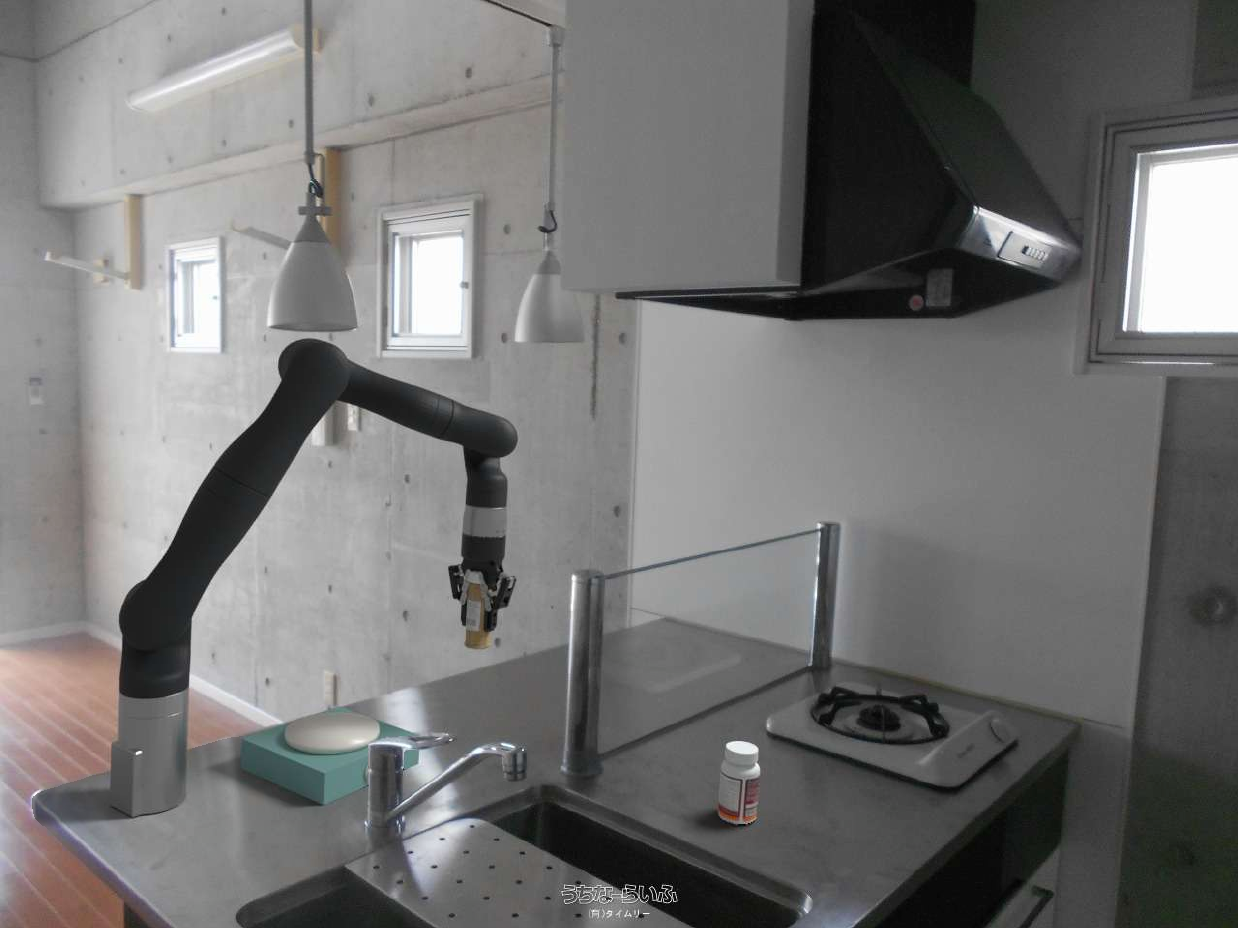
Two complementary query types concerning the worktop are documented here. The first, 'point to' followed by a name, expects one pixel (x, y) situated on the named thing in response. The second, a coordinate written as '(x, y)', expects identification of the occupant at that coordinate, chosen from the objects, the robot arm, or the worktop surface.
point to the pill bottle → (739, 783)
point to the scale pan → (331, 733)
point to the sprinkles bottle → (476, 615)
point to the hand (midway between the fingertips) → (478, 627)
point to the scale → (314, 763)
